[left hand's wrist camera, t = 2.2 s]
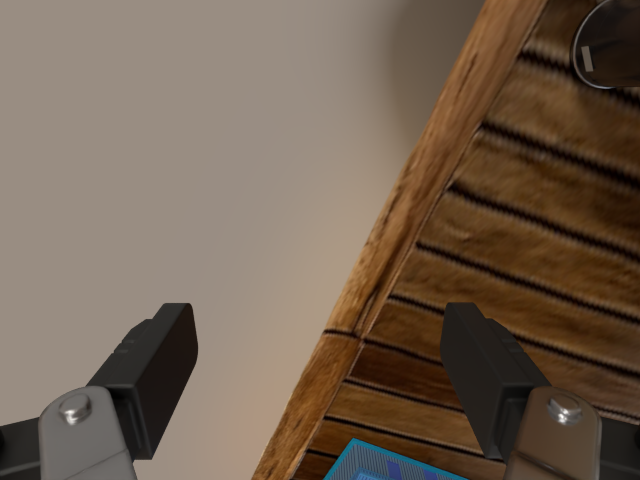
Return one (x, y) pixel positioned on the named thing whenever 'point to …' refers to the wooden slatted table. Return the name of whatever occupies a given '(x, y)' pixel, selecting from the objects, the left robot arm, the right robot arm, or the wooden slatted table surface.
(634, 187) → the wooden slatted table surface
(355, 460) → the model building
